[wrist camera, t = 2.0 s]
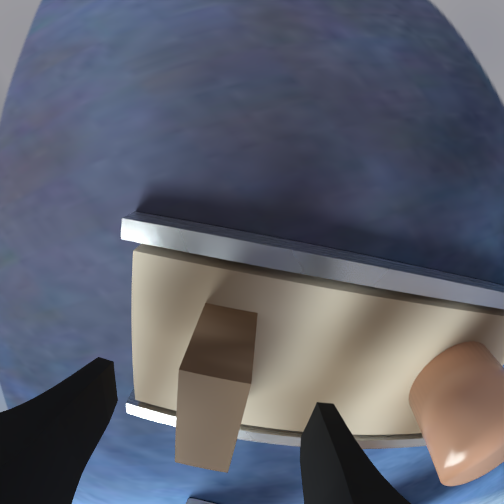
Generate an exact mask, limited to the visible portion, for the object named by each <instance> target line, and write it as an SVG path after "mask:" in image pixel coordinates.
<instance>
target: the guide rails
mask: <svg viewBox="0 0 504 504" xmlns="http://www.w3.org/2000/svg"><path fill="white" fill-rule="evenodd" d="M121 239H123V240H128V241H133V242H138V243H143V244H148V245H153V246H158V247H163V248H168V249H173V250H178V251H183V252H188V253H194V254H199V255H204V256H209V257H214V258H219V259H225V260H230V261H235V262H240V263H245V264H251V265H256V266H261V267H267V268H272V269H277V270H283V271H288V272H293V273H299V274H304V275H310V276H315V277H321V278H326V279H332V280H337V281H343V282H348V283H354V284H359V285H365V286H370V287H376V288H382V289H387V290H393V291H399V292H405V293H410V294H416V295H422V296H428V297H434V298H439V299H445V300H451V301H457V302H463V303H469V304H475V305H481V306H487V307H493V308H499V309H504V285H500V284H496V283H492V282H487V281H483V280H478V279H474V278H470V277H465V276H461V275H456V274H452V273H447V272H442V271H438V270H433V269H429V268H424V267H419V266H415V265H410V264H405V263H401V262H396V261H391V260H386V259H382V258H377V257H372V256H367V255H362V254H358V253H353V252H348V251H343V250H338V249H333V248H328V247H323V246H318V245H313V244H308V243H303V242H298V241H293V240H287V239H282V238H277V237H272V236H267V235H261V234H256V233H251V232H246V231H240V230H235V229H230V228H224V227H219V226H213V225H208V224H202V223H197V222H191V221H186V220H180V219H175V218H169V217H163V216H158V215H152V214H146V213H141V212H133V213H131V214H129V215H127V216H125V217H123V218H122V226H121ZM126 408H127V413H129V414H133V415H136V416H139V417H143V418H146V419H150V420H153V421H157V422H160V423H164V424H168V425H172V426H176V411H175V410H171V409H167V408H163V407H159V406H156V405H152V404H148V403H145V402H141V401H138V400H135V391H134V389H133V391H132V392H131V394H130V396H129V398H128V400H127V402H126ZM302 433H303V432H301V431H290V430H281V429H273V428H265V427H258V426H251V425H244V424H241V426H240V429H239V433H238V437H237V439H241V440H248V441H255V442H262V443H270V444H279V445H289V446H300V447H301V435H302ZM352 435H353V434H352ZM353 436H354V438H355V439H356V441H357V442H358V444H359V445H360V447H361V448H362V449H381V448H403V447H416V446H427V445H426V443H425V440H424V438H423V436H422V433H416V434H392V435H353Z"/></svg>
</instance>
